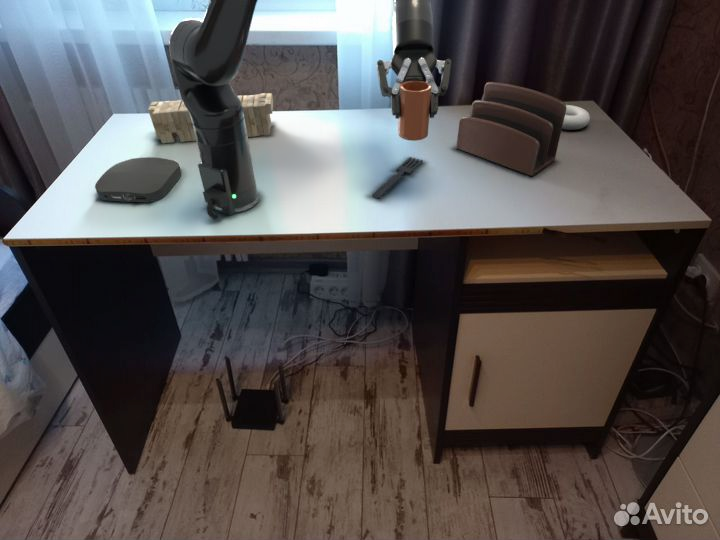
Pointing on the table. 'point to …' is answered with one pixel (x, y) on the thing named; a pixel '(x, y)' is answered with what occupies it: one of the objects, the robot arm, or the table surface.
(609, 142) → the table surface
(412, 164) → the fork
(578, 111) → the donut
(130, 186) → the media streaming box
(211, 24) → the robot arm
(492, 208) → the table surface
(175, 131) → the block tower
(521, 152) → the letter holder
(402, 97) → the tumbler
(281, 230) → the table surface
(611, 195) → the table surface
